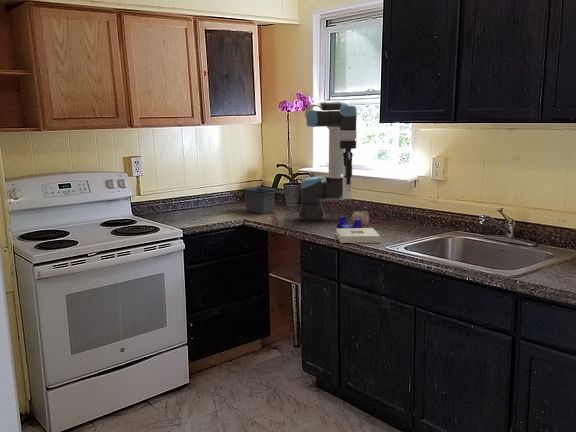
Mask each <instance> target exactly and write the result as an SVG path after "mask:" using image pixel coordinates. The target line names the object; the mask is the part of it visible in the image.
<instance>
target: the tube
mask: <svg viewBox="0 0 576 432" xmlns="http://www.w3.org/2000/svg"><path fill="white" fill-rule="evenodd" d="M344 176H346V166H343V200H352V198H353V195H352V194H353V175H352V176H351V191H350V192H345V177H344Z"/></svg>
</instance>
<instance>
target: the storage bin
mask: <svg viewBox="0 0 576 432" xmlns="http://www.w3.org/2000/svg"><path fill="white" fill-rule="evenodd" d="M242 193H244V197H245V198H244V199H245V209H246V212H252V213H256V214H260V215H261V214H262V215H265V214H271V213H272V214H273V213H274V209H275V208H274V207H275V205H274V204H275V194H276V193H277V188H272V187H265V186H250V187H249V186H247V187H242Z"/></svg>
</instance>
